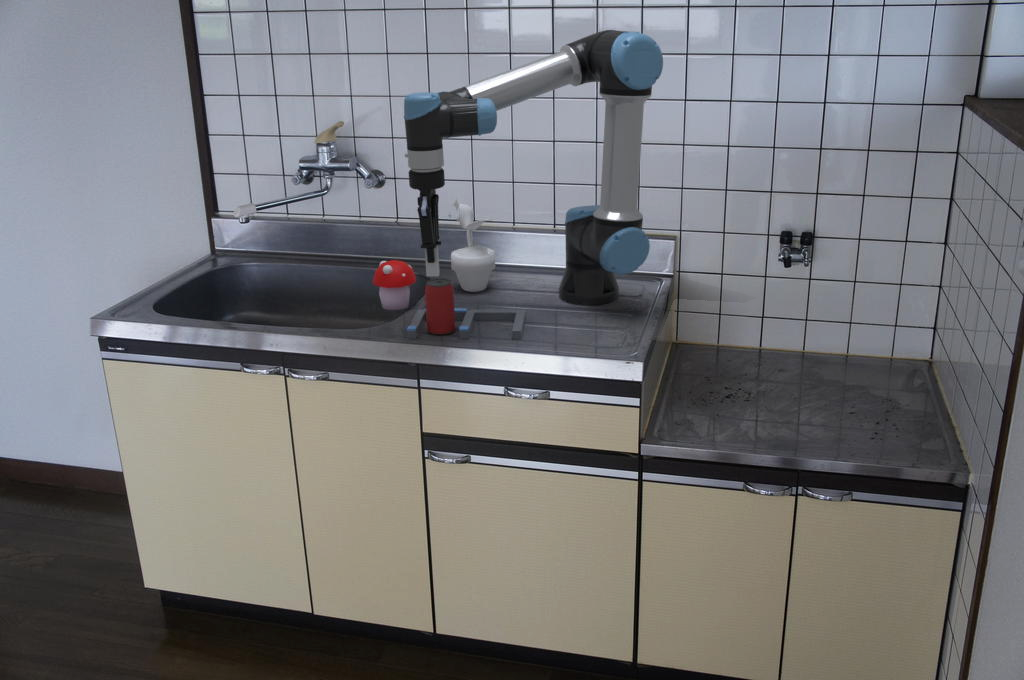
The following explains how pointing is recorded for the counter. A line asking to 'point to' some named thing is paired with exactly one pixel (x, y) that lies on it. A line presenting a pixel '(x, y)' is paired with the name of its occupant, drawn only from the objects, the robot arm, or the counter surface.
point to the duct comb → (472, 321)
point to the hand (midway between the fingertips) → (433, 275)
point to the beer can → (440, 306)
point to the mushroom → (394, 284)
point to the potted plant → (472, 255)
